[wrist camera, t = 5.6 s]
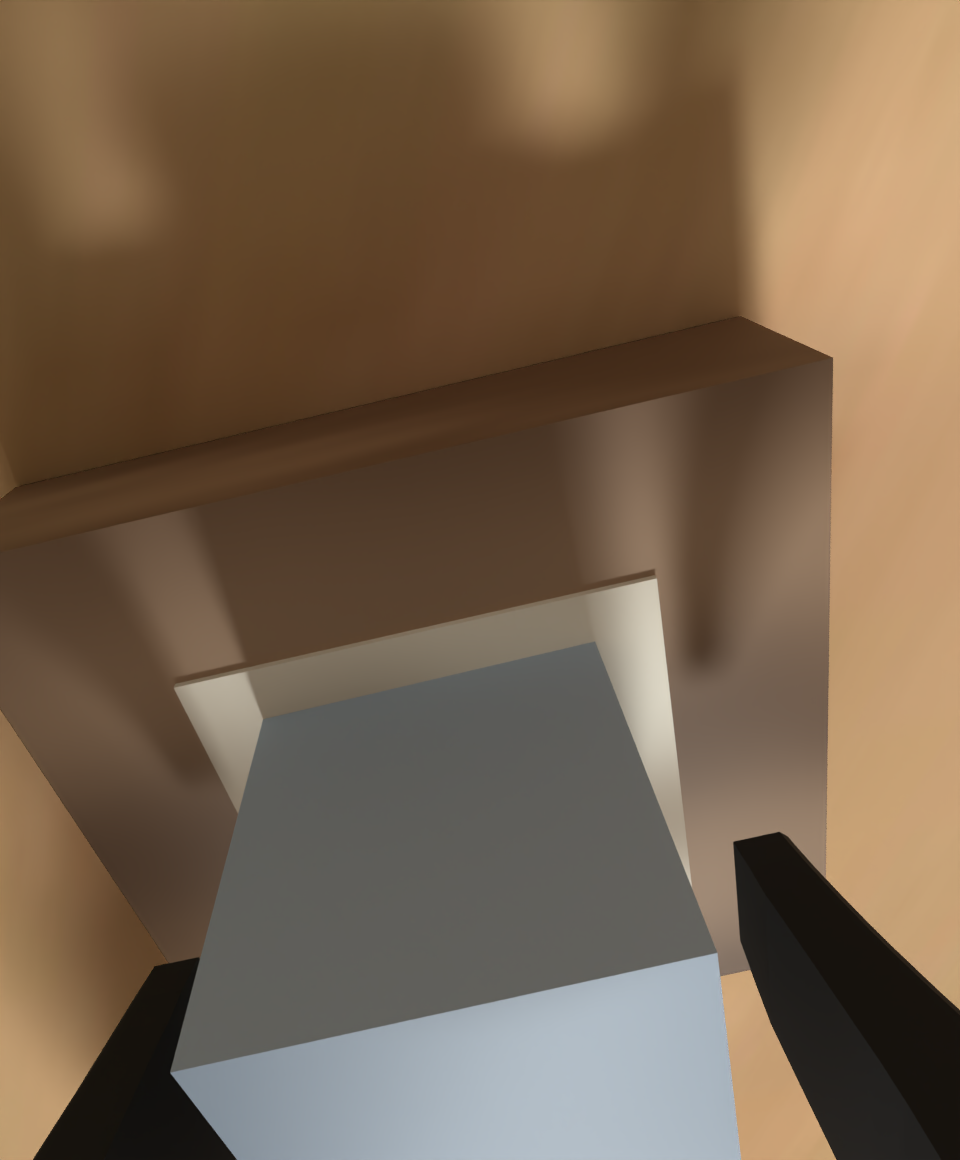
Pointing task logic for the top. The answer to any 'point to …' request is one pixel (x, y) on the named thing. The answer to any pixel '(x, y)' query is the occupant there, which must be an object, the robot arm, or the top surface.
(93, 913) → the top surface
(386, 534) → the base
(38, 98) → the top surface
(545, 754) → the cube
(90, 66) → the top surface
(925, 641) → the top surface
